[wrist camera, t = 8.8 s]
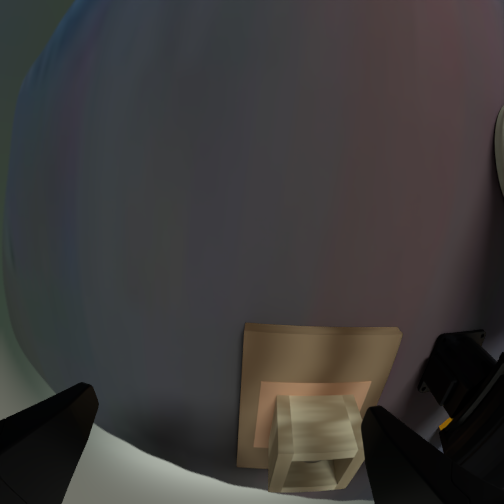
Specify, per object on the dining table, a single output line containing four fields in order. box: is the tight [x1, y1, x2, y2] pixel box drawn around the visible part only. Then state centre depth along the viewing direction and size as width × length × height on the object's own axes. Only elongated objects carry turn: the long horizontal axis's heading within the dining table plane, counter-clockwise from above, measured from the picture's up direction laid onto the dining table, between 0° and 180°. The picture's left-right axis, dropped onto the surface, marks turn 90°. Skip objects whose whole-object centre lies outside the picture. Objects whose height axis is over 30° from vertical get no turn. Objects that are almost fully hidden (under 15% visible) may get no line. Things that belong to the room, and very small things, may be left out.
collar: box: [268, 395, 365, 492], centre depth 18 cm, size 6×6×6 cm
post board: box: [237, 323, 403, 469], centre depth 20 cm, size 12×18×6 cm, turn 176°
